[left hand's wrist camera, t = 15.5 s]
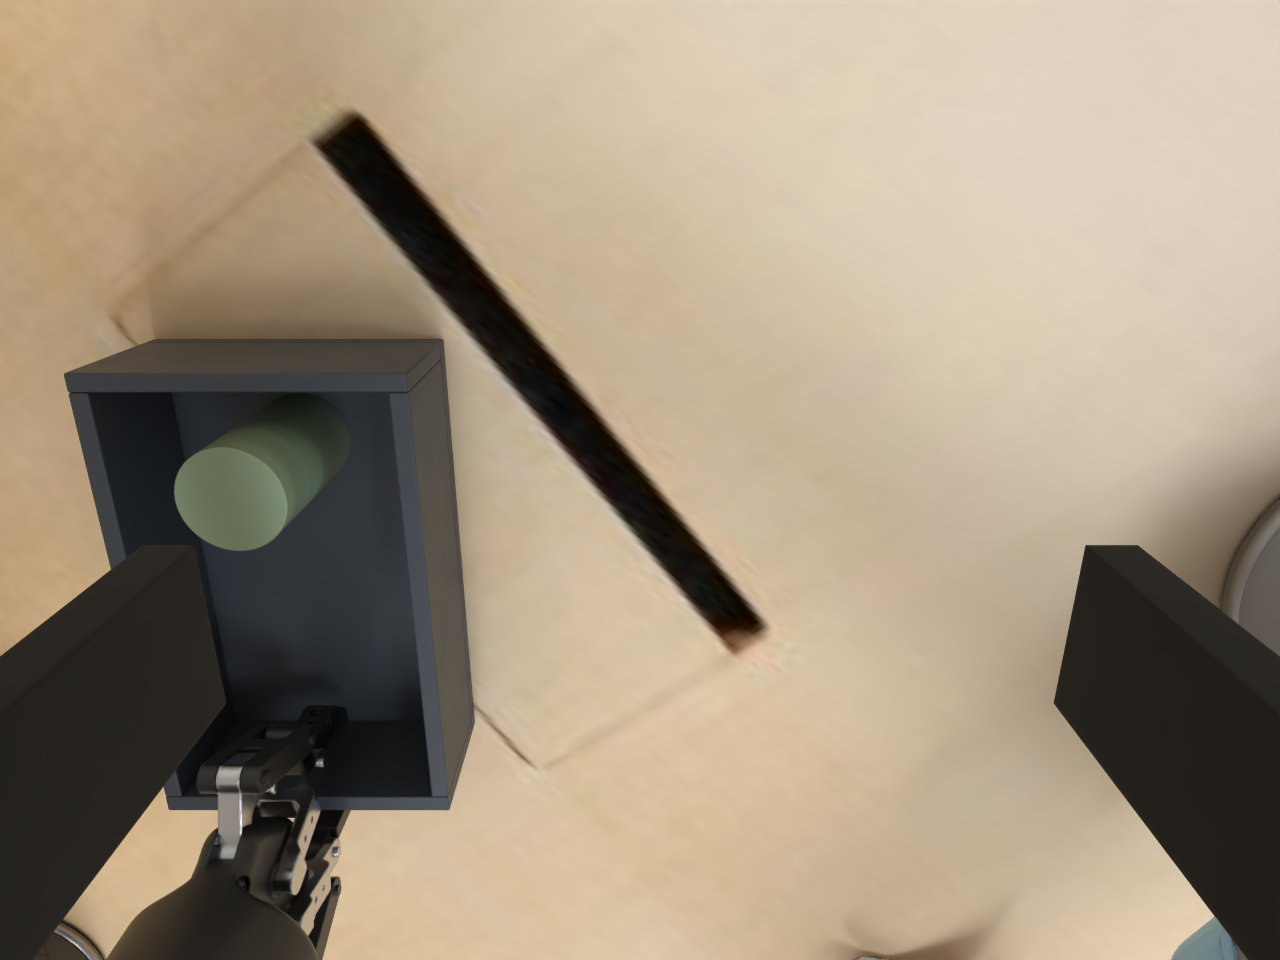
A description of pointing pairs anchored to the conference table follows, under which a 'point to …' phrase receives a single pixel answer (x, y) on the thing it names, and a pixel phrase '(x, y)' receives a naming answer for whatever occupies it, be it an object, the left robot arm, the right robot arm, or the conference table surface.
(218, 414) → the bin
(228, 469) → the peg
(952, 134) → the conference table surface
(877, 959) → the fish
